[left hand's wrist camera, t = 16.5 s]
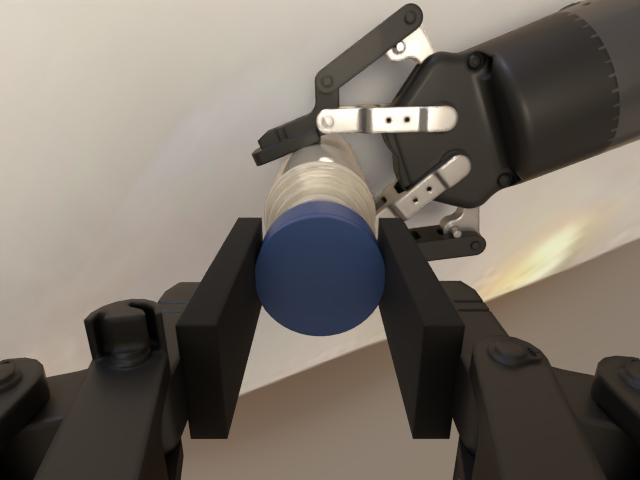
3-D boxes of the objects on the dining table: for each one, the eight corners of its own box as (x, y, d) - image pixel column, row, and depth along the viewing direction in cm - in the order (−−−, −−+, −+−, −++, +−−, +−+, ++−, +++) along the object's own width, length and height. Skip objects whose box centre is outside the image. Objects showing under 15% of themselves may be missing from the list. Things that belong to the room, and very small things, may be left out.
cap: (323, 328, 15) (323, 358, 14) (237, 260, 14) (227, 283, 13) (403, 253, 14) (413, 276, 13) (316, 175, 13) (315, 188, 12)
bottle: (323, 113, 29) (328, 161, 12) (368, 167, 30) (429, 278, 13) (271, 160, 30) (209, 263, 13) (316, 209, 31) (312, 362, 14)
